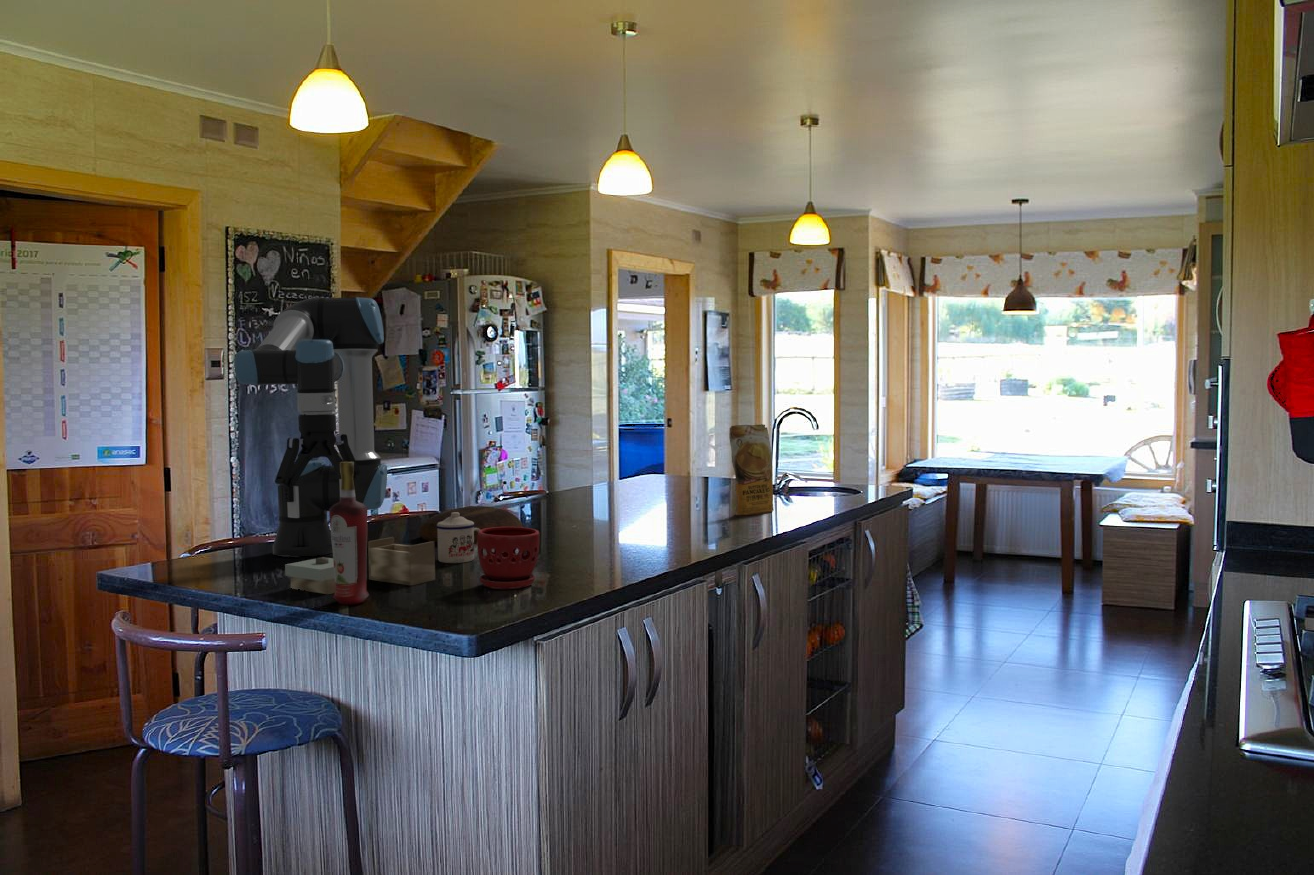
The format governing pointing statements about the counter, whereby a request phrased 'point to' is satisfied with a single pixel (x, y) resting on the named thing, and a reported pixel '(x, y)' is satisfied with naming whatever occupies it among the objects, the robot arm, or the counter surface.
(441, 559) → the teacup with lid
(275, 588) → the counter surface
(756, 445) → the pancake mix bag
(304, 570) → the lid
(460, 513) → the bread
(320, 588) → the stand
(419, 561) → the wooden box
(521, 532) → the plant pot
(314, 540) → the robot arm
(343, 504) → the liquor
